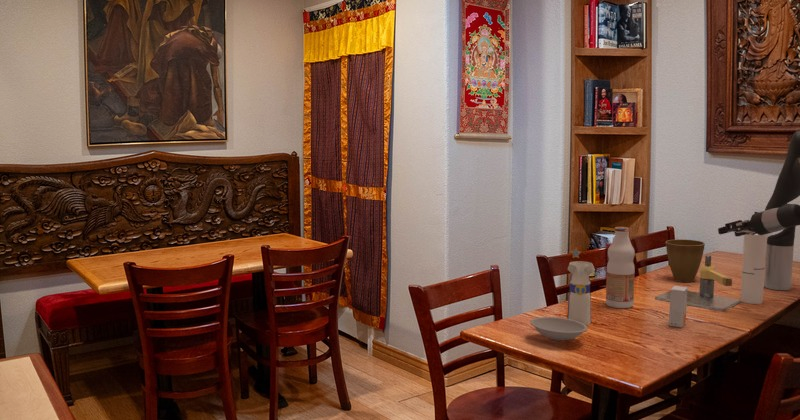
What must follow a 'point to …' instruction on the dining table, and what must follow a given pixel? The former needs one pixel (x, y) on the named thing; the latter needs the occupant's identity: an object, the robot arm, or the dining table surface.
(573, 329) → the dish
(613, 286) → the fruit juice
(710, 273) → the lever handle
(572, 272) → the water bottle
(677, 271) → the plant pot
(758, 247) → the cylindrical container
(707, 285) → the square base plate stand
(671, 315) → the skincare box
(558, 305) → the dining table surface
